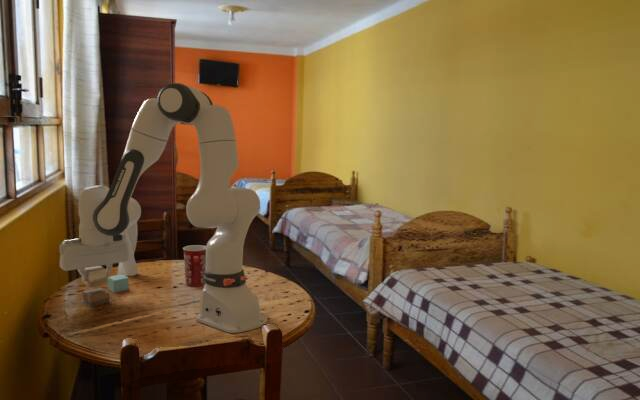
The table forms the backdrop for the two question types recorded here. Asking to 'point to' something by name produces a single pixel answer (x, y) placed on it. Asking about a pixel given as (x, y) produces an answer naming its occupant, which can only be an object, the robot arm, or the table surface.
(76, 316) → the table surface
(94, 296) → the walnut base
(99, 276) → the maple block
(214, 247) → the robot arm
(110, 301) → the mat
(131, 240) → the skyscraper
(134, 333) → the table surface
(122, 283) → the teal block
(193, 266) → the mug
